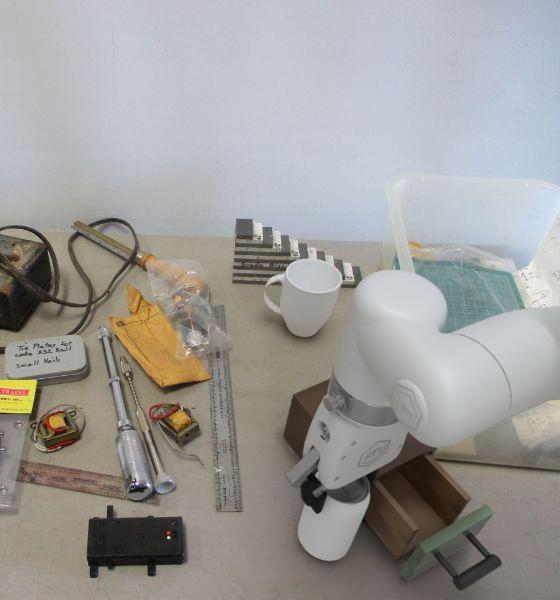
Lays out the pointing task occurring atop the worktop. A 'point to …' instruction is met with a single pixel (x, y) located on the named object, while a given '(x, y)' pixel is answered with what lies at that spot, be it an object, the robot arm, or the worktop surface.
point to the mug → (306, 295)
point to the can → (334, 520)
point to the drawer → (428, 520)
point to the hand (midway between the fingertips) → (336, 488)
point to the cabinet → (304, 412)
